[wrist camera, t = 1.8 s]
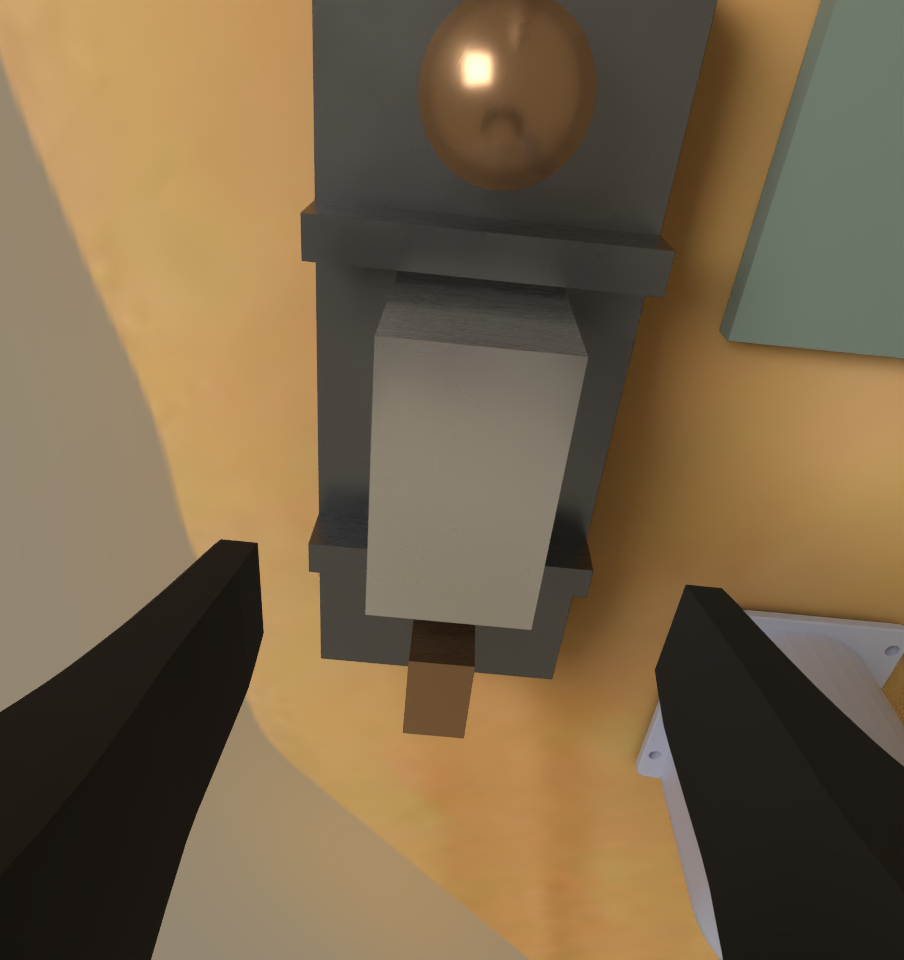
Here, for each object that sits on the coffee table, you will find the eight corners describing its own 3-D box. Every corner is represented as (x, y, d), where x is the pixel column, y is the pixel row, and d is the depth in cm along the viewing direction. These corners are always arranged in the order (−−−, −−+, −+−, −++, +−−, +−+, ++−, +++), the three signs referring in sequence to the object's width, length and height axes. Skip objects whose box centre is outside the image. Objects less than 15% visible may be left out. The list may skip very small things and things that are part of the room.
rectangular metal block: (521, 521, 20) (531, 629, 17) (386, 508, 20) (365, 614, 17) (563, 286, 17) (587, 357, 13) (398, 269, 17) (374, 335, 13)
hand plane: (546, 627, 26) (562, 768, 21) (334, 608, 26) (298, 745, 21) (692, -26, 15) (796, -62, 10) (334, -66, 15) (262, -123, 10)
